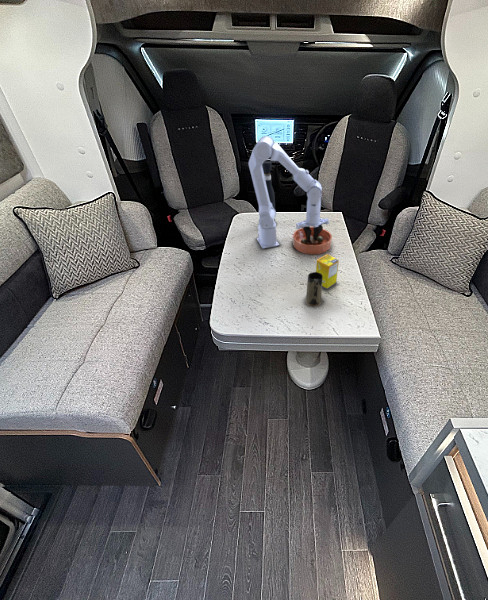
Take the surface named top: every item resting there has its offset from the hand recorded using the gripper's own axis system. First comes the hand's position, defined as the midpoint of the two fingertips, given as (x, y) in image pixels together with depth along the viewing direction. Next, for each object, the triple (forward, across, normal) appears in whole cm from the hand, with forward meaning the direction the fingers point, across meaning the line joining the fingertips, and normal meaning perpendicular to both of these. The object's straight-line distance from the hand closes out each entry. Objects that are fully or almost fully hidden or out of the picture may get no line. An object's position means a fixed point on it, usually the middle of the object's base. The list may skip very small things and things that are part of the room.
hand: (311, 240), depth 151 cm
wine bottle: (+3, -11, +27) cm, 29 cm away
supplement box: (+3, -6, -28) cm, 29 cm away
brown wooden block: (+2, 0, 0) cm, 2 cm away
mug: (+3, -15, -37) cm, 40 cm away
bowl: (+3, +1, +1) cm, 3 cm away
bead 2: (+2, +5, +1) cm, 5 cm away
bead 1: (+2, -3, +1) cm, 4 cm away
